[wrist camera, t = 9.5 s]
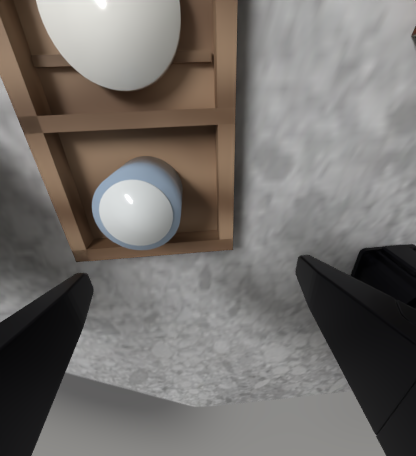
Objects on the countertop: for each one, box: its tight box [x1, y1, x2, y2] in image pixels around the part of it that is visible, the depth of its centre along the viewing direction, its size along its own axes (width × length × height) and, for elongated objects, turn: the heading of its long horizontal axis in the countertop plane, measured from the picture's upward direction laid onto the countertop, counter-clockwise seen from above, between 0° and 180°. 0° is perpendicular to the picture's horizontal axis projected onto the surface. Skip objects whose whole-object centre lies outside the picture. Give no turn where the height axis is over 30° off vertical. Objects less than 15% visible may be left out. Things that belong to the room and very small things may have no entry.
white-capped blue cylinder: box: [92, 156, 183, 250], centre depth 16 cm, size 6×6×5 cm
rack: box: [0, 0, 238, 262], centre depth 16 cm, size 22×14×2 cm, turn 2°
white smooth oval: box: [36, 0, 181, 92], centre depth 13 cm, size 8×8×1 cm
